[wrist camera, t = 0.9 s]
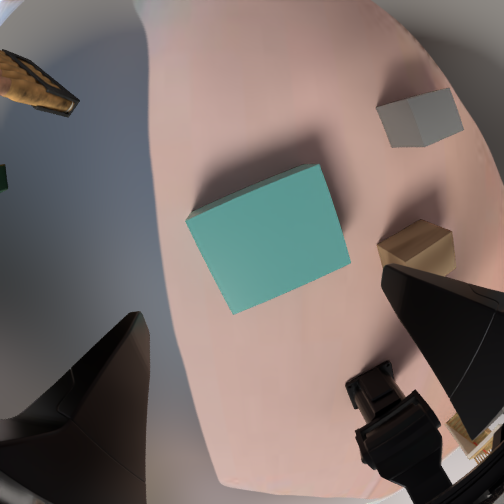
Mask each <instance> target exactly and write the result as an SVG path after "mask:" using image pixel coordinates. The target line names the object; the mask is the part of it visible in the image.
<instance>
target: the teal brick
mask: <svg viewBox="0 0 504 504" xmlns="http://www.w3.org/2000/svg"><path fill="white" fill-rule="evenodd" d="M185 222H186V224H187V226H188V228H189V230H190V232H191V234H192V236H193V238H194V240H195V242H196V244H197V246H198V248H199V250H200V252H201V254H202V256H203V258H204V260H205V262H206V264H207V266H208V268H209V270H210V272H211V274H212V276H213V278H214V280H215V282H216V283H217V285H218V287H219V289H220V291H221V293H222V295H223V297H224V299H225V301H226V302H227V304H228V306H229V308H230V310H231V312H232V314H233V315H234V314H237V313H239V312H241V311H244V310H246V309H249V308H251V307H254V306H256V305H258V304H261V303H263V302H266V301H268V300H270V299H273V298H275V297H277V296H280V295H282V294H284V293H287V292H289V291H291V290H293V289H296V288H298V287H300V286H302V285H305V284H307V283H309V282H311V281H314V280H316V279H318V278H320V277H322V276H325V275H327V274H329V273H331V272H333V271H335V270H337V269H340V268H342V267H344V266H346V265H348V264H350V263H351V261H350V257H349V254H348V250H347V247H346V243H345V240H344V236H343V233H342V230H341V226H340V223H339V220H338V217H337V214H336V211H335V208H334V205H333V201H332V199H331V196H330V193H329V190H328V187H327V184H326V181H325V178H324V176H323V173H322V170H321V167H320V165H319V164H303V165H301V166H298V167H295V168H293V169H290V170H288V171H285V172H283V173H280V174H278V175H275V176H273V177H270V178H268V179H265V180H263V181H261V182H258V183H256V184H253V185H251V186H249V187H246V188H244V189H242V190H239V191H237V192H235V193H232V194H230V195H228V196H225V197H223V198H221V199H219V200H217V201H214V202H212V203H210V204H208V205H205V206H203V207H201V208H199V209H197V210H195V211H193V212H191V213H190V215H189V216H188V218H187V219H186V221H185Z"/></svg>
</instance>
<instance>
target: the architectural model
mask: <svg viewBox="0 0 504 504" xmlns="http://www.w3.org/2000/svg"><path fill="white" fill-rule="evenodd" d="M444 425H445V426H446V427H447V429H448V430H449V431H450V433H451V434H452V436H453V437H454V439H455V440H456V441H457V443H458V444H459V446H460V447H461V449H462V450H463V451H464V453H465V455H466V456H467V457H468V459H469V460H471V459H473V458H474V459H475V460H476V462H477V464H479V462H478V461H477V459H476V457H477V458H478V456H480V458H481V459H482V457H481V455H482V456H483V454H485V455H486V454H488V455H489V453H488V451H489V452H490V449H491V450H492V443H493V434H494V433H495V432H496V431H497V430H498V429H499V428H500V427H501V426H502V425H503V424H498V425H497V426H496V427H495V429H494V430H493V431H491V430H489V429H488V428H487V429H486V430H485V431H483V432H482V433H481V434H480V435H479V436H478V437H477V438H475V439H474V440H473V441H472V440H471V439H470V437H469V435H468V433H467V431H466V429H465V427H464V425H463V423H462V421H461V419H460V417H459V415H458V414H457V413H456V414H455V415H454V416H453V417H452V418H451V419H450V420H449V421H448V422H447V423H445V424H444ZM490 453H491V452H490ZM486 456H487V455H486ZM483 457H484V456H483ZM478 459H479V458H478ZM484 459H485V457H484ZM479 461H480V460H479ZM482 461H483V459H482ZM480 462H481V461H480Z"/></svg>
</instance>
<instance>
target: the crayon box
mask: <svg viewBox="0 0 504 504" xmlns="http://www.w3.org/2000/svg"><path fill="white" fill-rule="evenodd" d="M7 189H8V184H7V176H6V167H5V164H3V165H0V193H1V192H3V191H5V190H7Z"/></svg>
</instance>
